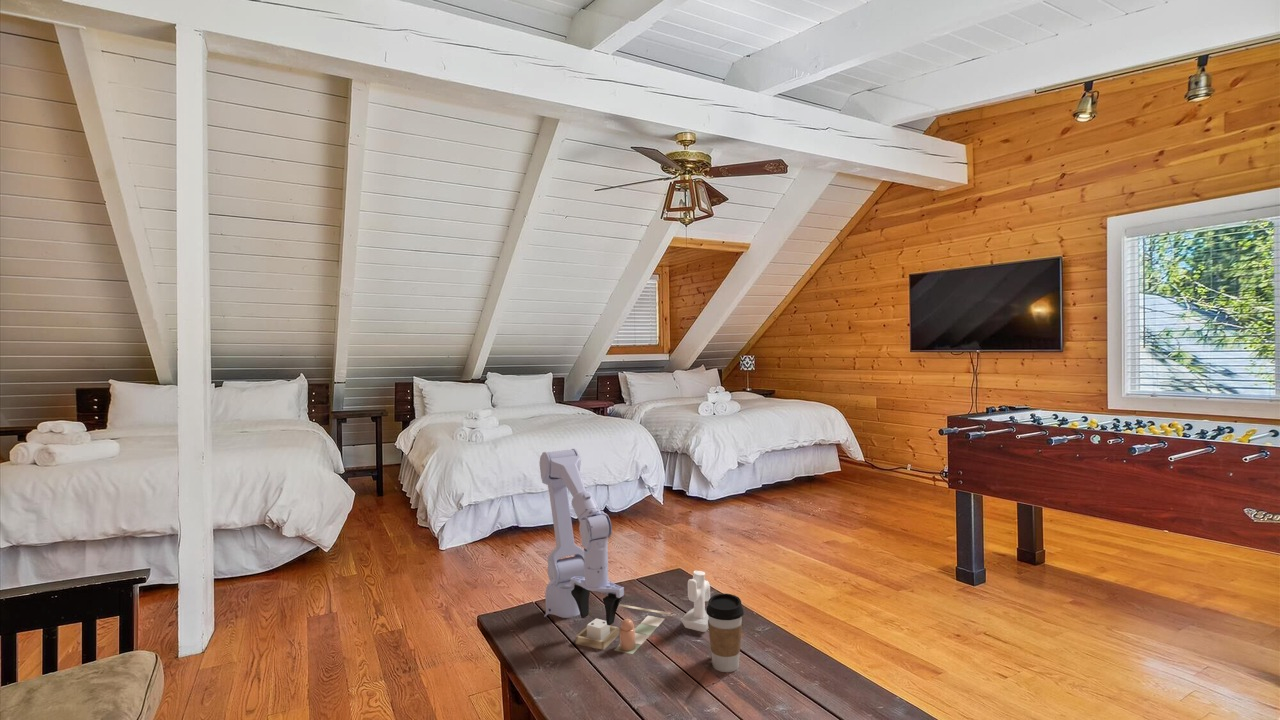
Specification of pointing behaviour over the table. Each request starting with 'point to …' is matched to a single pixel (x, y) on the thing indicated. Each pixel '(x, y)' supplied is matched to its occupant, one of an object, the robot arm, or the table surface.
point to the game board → (614, 632)
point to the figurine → (697, 602)
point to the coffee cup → (725, 631)
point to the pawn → (627, 635)
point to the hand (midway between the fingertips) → (597, 620)
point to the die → (598, 629)
